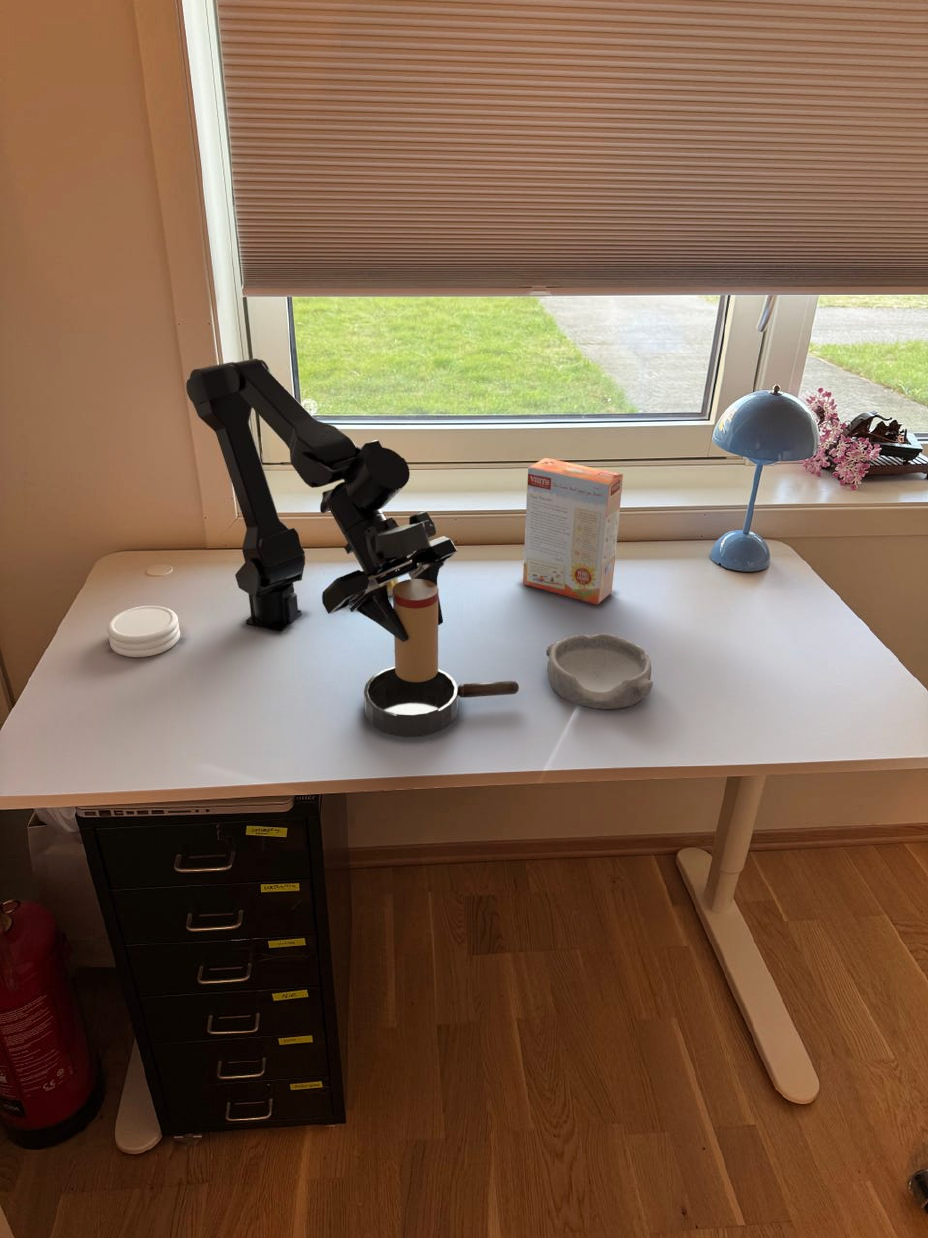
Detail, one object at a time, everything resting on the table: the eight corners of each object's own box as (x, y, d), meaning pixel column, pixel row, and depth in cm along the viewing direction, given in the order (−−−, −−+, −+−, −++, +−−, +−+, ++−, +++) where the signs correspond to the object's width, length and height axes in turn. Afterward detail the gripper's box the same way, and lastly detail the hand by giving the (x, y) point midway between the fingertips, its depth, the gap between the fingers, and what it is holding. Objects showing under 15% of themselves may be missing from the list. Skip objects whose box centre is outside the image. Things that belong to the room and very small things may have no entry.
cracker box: (613, 592, 153) (625, 472, 143) (597, 607, 149) (609, 484, 139) (538, 571, 160) (545, 454, 149) (521, 584, 155) (526, 466, 145)
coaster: (132, 621, 143) (128, 601, 142) (192, 628, 142) (189, 608, 140) (97, 654, 135) (92, 633, 133) (160, 662, 133) (157, 641, 131)
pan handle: (457, 701, 122) (457, 689, 122) (455, 693, 124) (455, 682, 123) (519, 696, 123) (520, 685, 123) (517, 688, 125) (517, 677, 124)
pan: (349, 726, 120) (347, 703, 119) (390, 678, 130) (389, 657, 128) (435, 749, 117) (435, 726, 115) (471, 698, 126) (471, 676, 125)
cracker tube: (387, 677, 120) (385, 595, 114) (405, 655, 124) (403, 575, 118) (428, 686, 118) (428, 603, 112) (444, 663, 123) (445, 583, 117)
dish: (661, 710, 124) (666, 679, 122) (561, 719, 122) (563, 687, 120) (627, 653, 137) (631, 624, 134) (536, 660, 135) (537, 631, 132)
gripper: (330, 518, 106) (396, 636, 105) (448, 477, 118) (508, 584, 116) (294, 557, 115) (355, 667, 114) (407, 516, 126) (463, 615, 125)
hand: (423, 632), depth 117 cm, fingers closed on cracker tube, 5 cm apart
